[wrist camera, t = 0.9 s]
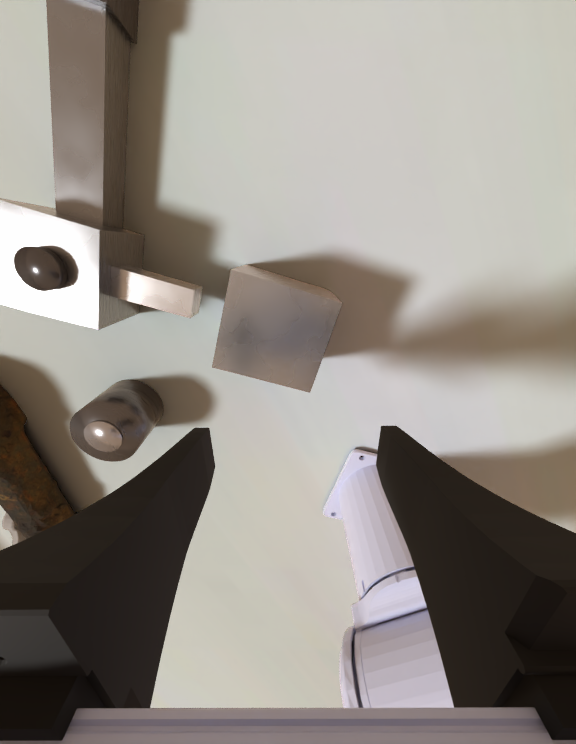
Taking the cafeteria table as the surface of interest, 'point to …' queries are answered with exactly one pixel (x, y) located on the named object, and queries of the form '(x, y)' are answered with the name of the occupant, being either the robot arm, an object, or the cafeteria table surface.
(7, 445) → the rough brown wooden log
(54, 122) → the ratchet
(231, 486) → the cafeteria table surface
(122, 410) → the socket
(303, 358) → the grey block
